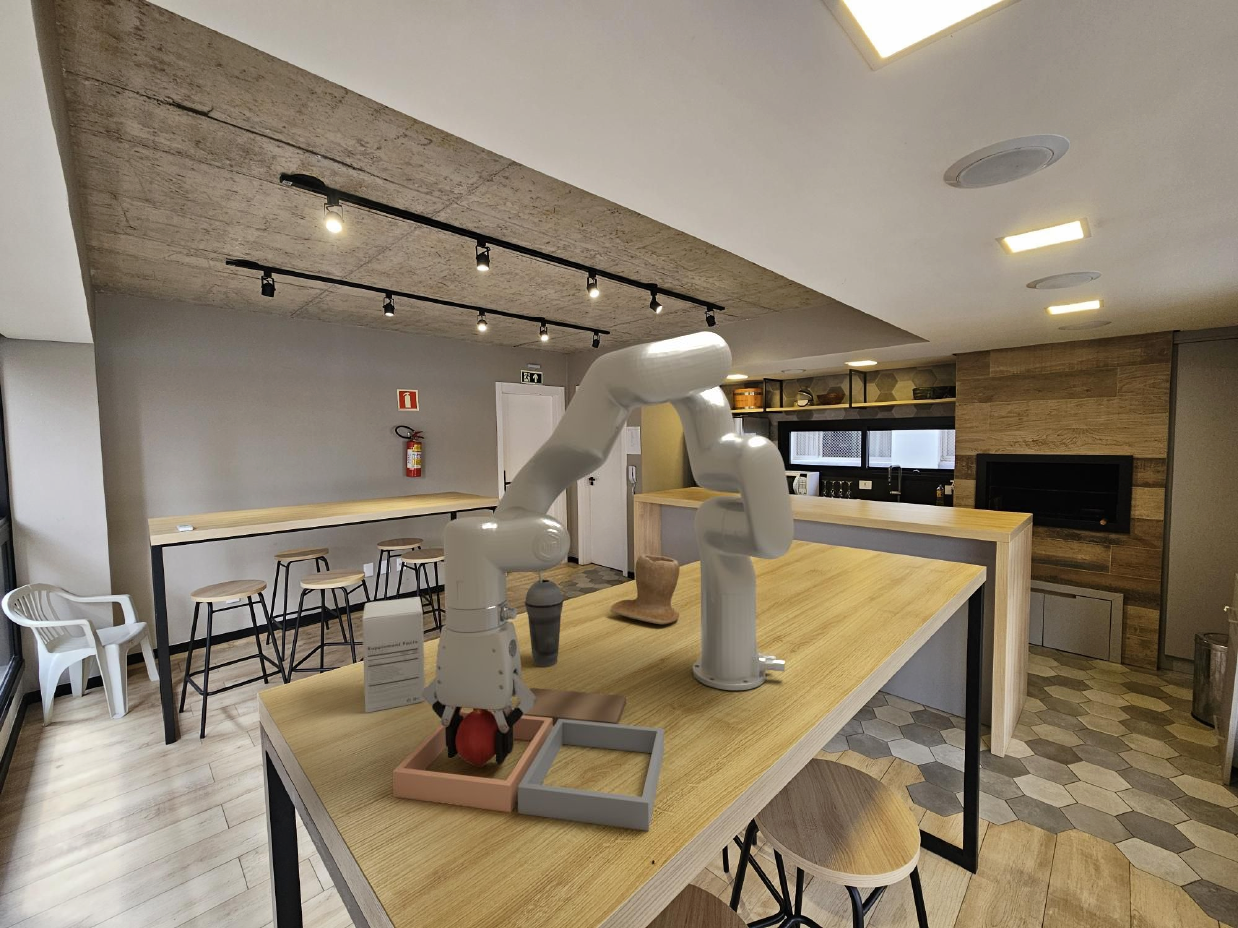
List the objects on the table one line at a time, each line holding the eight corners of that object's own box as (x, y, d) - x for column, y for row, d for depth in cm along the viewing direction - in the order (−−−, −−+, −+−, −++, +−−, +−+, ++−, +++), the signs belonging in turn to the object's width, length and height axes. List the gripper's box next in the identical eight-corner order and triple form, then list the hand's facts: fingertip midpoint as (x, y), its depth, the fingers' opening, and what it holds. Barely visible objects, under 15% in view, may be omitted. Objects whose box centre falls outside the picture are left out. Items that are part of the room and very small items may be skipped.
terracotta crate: (552, 739, 72) (552, 717, 72) (510, 812, 58) (510, 785, 57) (456, 729, 75) (455, 708, 75) (393, 796, 60) (392, 771, 60)
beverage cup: (557, 671, 94) (555, 561, 93) (519, 668, 95) (517, 560, 95) (569, 655, 101) (567, 553, 100) (534, 652, 102) (532, 552, 102)
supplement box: (366, 689, 88) (364, 602, 87) (423, 679, 91) (420, 595, 91) (363, 714, 79) (360, 618, 79) (425, 702, 83) (423, 610, 82)
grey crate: (664, 750, 69) (663, 728, 69) (648, 830, 55) (648, 802, 54) (559, 739, 72) (558, 718, 72) (518, 813, 57) (517, 786, 57)
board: (626, 703, 82) (626, 695, 82) (615, 730, 74) (615, 722, 74) (530, 694, 85) (530, 687, 85) (510, 720, 77) (510, 712, 77)
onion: (461, 753, 69) (460, 694, 69) (505, 750, 69) (504, 692, 69) (451, 781, 63) (449, 717, 63) (499, 778, 64) (498, 714, 63)
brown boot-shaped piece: (690, 617, 122) (689, 554, 122) (662, 632, 113) (661, 564, 112) (638, 606, 132) (638, 547, 131) (608, 618, 122) (608, 555, 122)
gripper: (551, 609, 68) (553, 744, 68) (431, 603, 71) (434, 732, 72) (530, 629, 60) (533, 781, 61) (397, 621, 64) (401, 765, 64)
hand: (479, 753), depth 66 cm, fingers closed on onion, 5 cm apart
